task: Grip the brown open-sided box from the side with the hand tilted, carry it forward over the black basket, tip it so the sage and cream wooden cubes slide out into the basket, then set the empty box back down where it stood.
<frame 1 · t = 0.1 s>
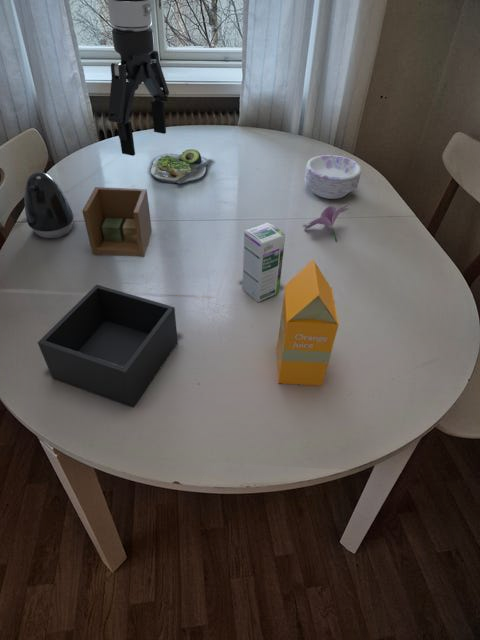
hand: (145, 142, 94), 21 cm above the table, tool pointing down, fingers open, 13 cm apart
paper bowls: (329, 192, 125), on the table
orange juice: (298, 366, 76), on the table
cube sage: (115, 237, 102), point 1 cm above the table, touching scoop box
basket: (118, 359, 76), on the table
dark grey rounded cone: (55, 234, 104), on the table
cube cream: (135, 238, 102), point 1 cm above the table, touching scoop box
syrup box: (260, 291, 91), on the table
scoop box: (124, 246, 101), on the table, touching cube cream, cube sage
lily: (325, 234, 109), on the table
salad plate: (180, 171, 132), on the table
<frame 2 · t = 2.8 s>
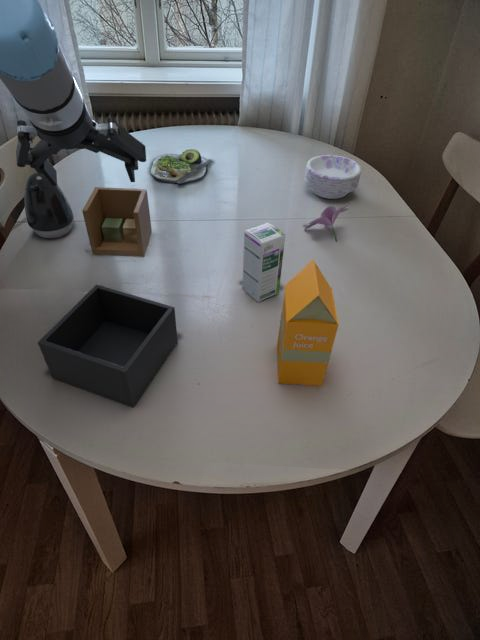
hand: (94, 176, 77), 23 cm above the table, tool tilted 40°, fingers open, 13 cm apart
nothing on the table moved.
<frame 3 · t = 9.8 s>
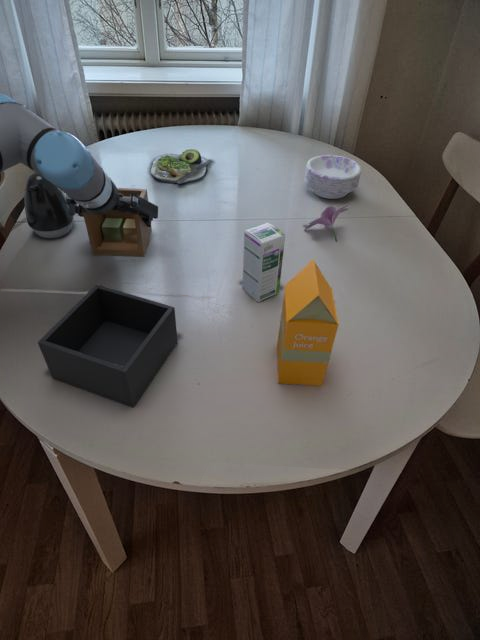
hand: (123, 220, 100), 5 cm above the table, tool tilted 45°, fingers closed on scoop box, 12 cm apart
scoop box: (124, 246, 101), on the table, touching cube cream, cube sage, gripper
everything else where it was.
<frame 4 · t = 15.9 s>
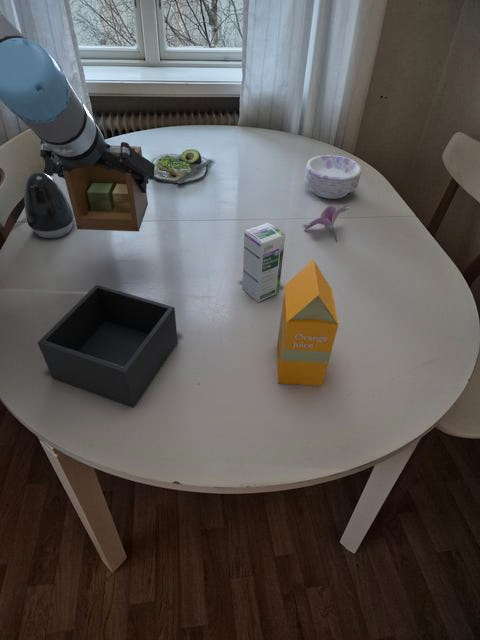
hand: (112, 184, 84), 19 cm above the table, tool tilted 45°, fingers closed on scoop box, 12 cm apart
cube sage: (103, 206, 86), point 14 cm above the table, touching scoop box
cube cream: (127, 207, 86), point 14 cm above the table, touching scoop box
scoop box: (114, 216, 85), point 13 cm above the table, touching cube cream, cube sage, gripper
everything else where it was.
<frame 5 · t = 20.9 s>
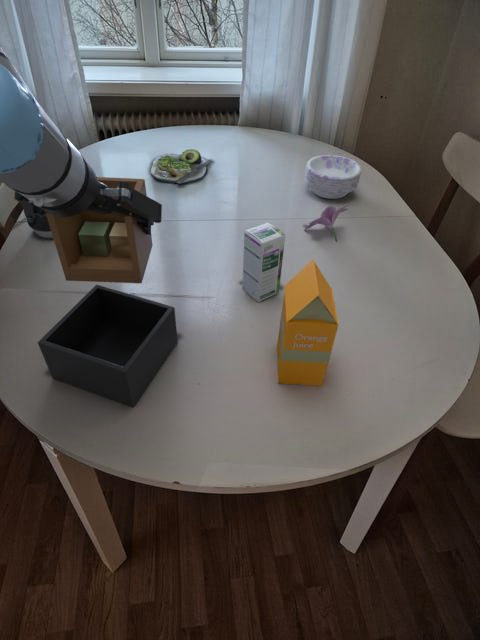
hand: (110, 224, 68), 21 cm above the table, tool tilted 45°, fingers closed on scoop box, 12 cm apart
cube sage: (98, 249, 71), point 17 cm above the table, touching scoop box
cube cream: (128, 250, 71), point 17 cm above the table, touching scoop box
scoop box: (111, 261, 70), point 16 cm above the table, touching cube cream, cube sage, gripper
everything else where it was.
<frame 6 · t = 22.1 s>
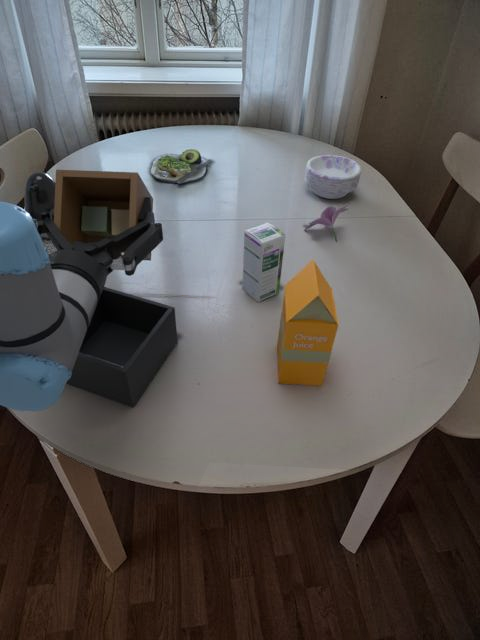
hand: (109, 203, 67), 24 cm above the table, tool horizontal, fingers closed on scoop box, 12 cm apart
cube sage: (101, 225, 72), point 19 cm above the table, tilted 44°
cube cream: (130, 223, 71), point 20 cm above the table, tilted 57°, touching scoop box
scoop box: (117, 228, 73), point 18 cm above the table, tilted 45°, touching cube cream, gripper
everything else where it was.
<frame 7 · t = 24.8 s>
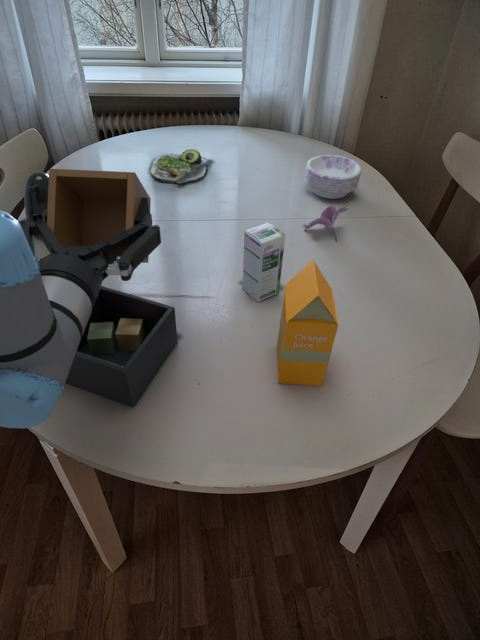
hand: (104, 203, 65), 25 cm above the table, tool horizontal, fingers closed on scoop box, 12 cm apart
cube sage: (101, 346, 74), point 3 cm above the table, tilted 90°, touching basket
cube cream: (128, 342, 75), point 3 cm above the table, tilted 90°, touching basket
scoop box: (113, 229, 70), point 20 cm above the table, tilted 45°, touching gripper
everything else where it was.
when the fingers open (6 cm above the table, at t = 33.2 s): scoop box stays where it is, on the table.
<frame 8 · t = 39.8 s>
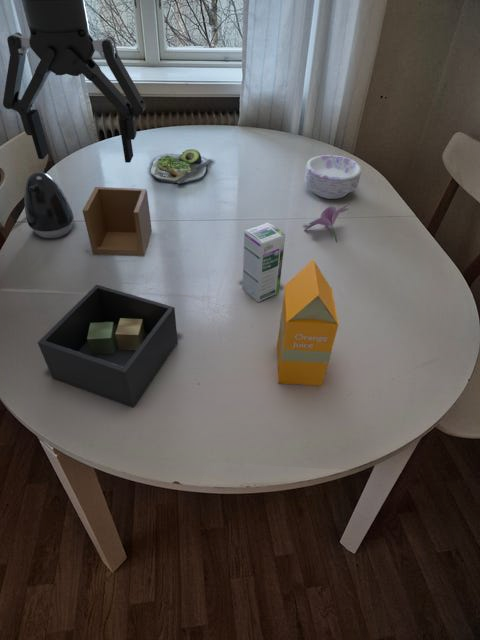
hand: (86, 157, 69), 29 cm above the table, tool pointing down, fingers open, 13 cm apart
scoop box: (124, 245, 101), on the table
everything else where it was.
at the end: cube sage inside the target area in the basket (2.6 cm from its centre), point 2.8 cm above the basket's base; cube cream inside the target area in the basket (2.5 cm from its centre), point 2.8 cm above the basket's base; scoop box tilted 0° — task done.
